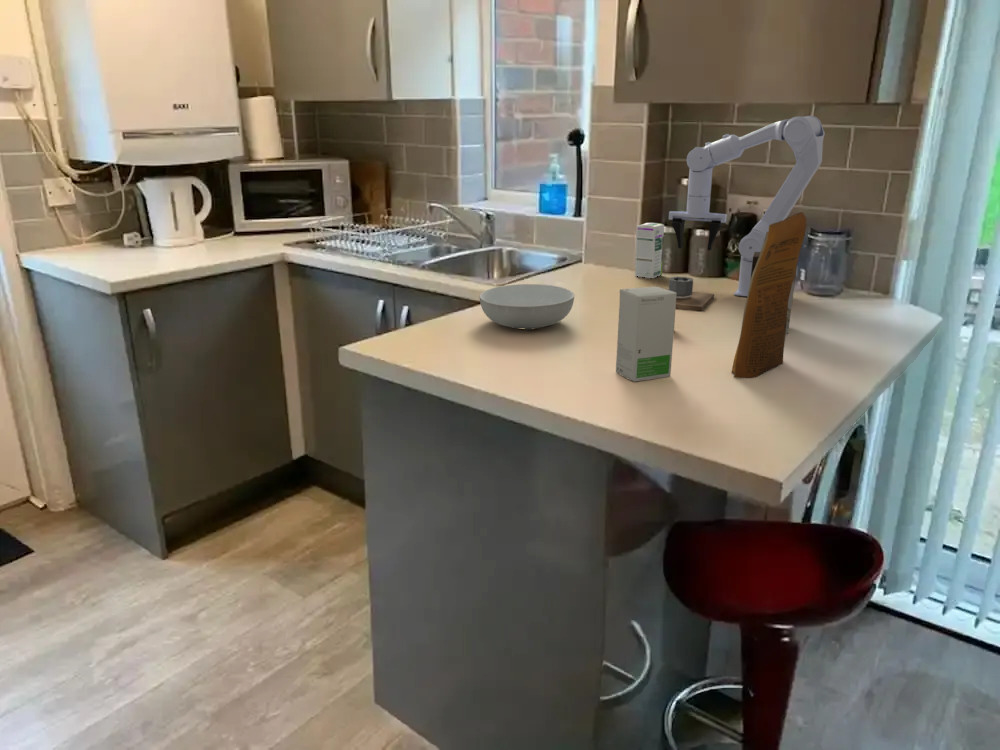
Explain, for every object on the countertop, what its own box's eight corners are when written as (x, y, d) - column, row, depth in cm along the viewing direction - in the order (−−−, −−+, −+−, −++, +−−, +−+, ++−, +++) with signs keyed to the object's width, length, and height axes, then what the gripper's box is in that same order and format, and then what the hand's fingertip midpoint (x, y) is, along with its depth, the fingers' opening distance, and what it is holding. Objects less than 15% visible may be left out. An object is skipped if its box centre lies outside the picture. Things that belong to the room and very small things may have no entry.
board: (714, 297, 195) (714, 293, 195) (701, 310, 184) (702, 306, 183) (659, 292, 201) (659, 288, 201) (643, 304, 189) (643, 300, 189)
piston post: (692, 296, 193) (693, 280, 192) (687, 300, 189) (688, 284, 187) (671, 293, 195) (672, 278, 194) (666, 298, 191) (667, 282, 190)
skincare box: (633, 383, 138) (637, 296, 132) (613, 371, 143) (617, 288, 138) (672, 376, 141) (678, 291, 136) (651, 365, 147) (656, 284, 141)
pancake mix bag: (802, 361, 148) (821, 211, 139) (752, 386, 136) (770, 224, 126) (769, 353, 153) (785, 208, 144) (718, 377, 140) (732, 219, 131)
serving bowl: (514, 307, 188) (514, 279, 186) (590, 320, 177) (591, 290, 174) (460, 327, 172) (460, 297, 170) (541, 343, 161) (541, 310, 158)
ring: (691, 291, 194) (692, 277, 193) (692, 296, 189) (693, 282, 187) (668, 290, 195) (669, 276, 194) (668, 295, 190) (669, 281, 189)
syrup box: (652, 279, 216) (656, 226, 211) (633, 276, 219) (636, 224, 214) (662, 275, 220) (665, 223, 215) (643, 273, 224) (646, 221, 219)
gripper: (730, 195, 201) (726, 248, 205) (674, 192, 207) (671, 244, 211) (725, 198, 195) (720, 252, 199) (667, 195, 201) (664, 248, 205)
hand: (694, 248), depth 205 cm, fingers open, 7 cm apart
